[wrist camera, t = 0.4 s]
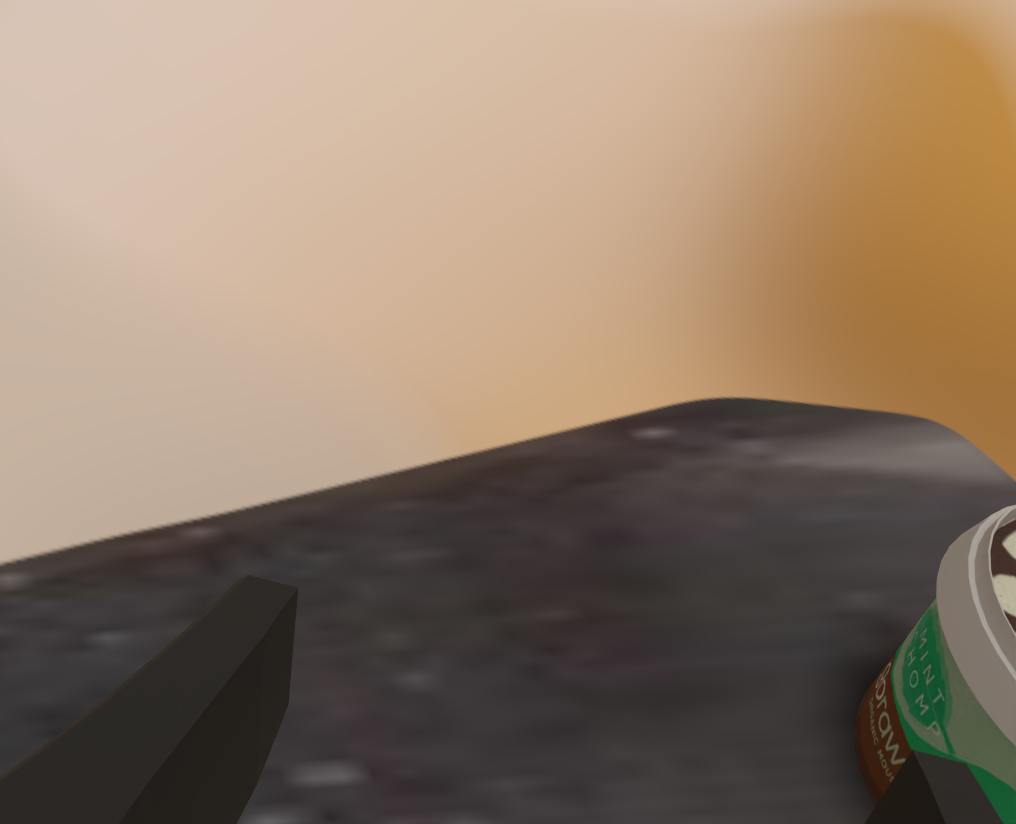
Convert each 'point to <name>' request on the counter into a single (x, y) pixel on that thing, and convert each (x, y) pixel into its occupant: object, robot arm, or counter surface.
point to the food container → (954, 673)
